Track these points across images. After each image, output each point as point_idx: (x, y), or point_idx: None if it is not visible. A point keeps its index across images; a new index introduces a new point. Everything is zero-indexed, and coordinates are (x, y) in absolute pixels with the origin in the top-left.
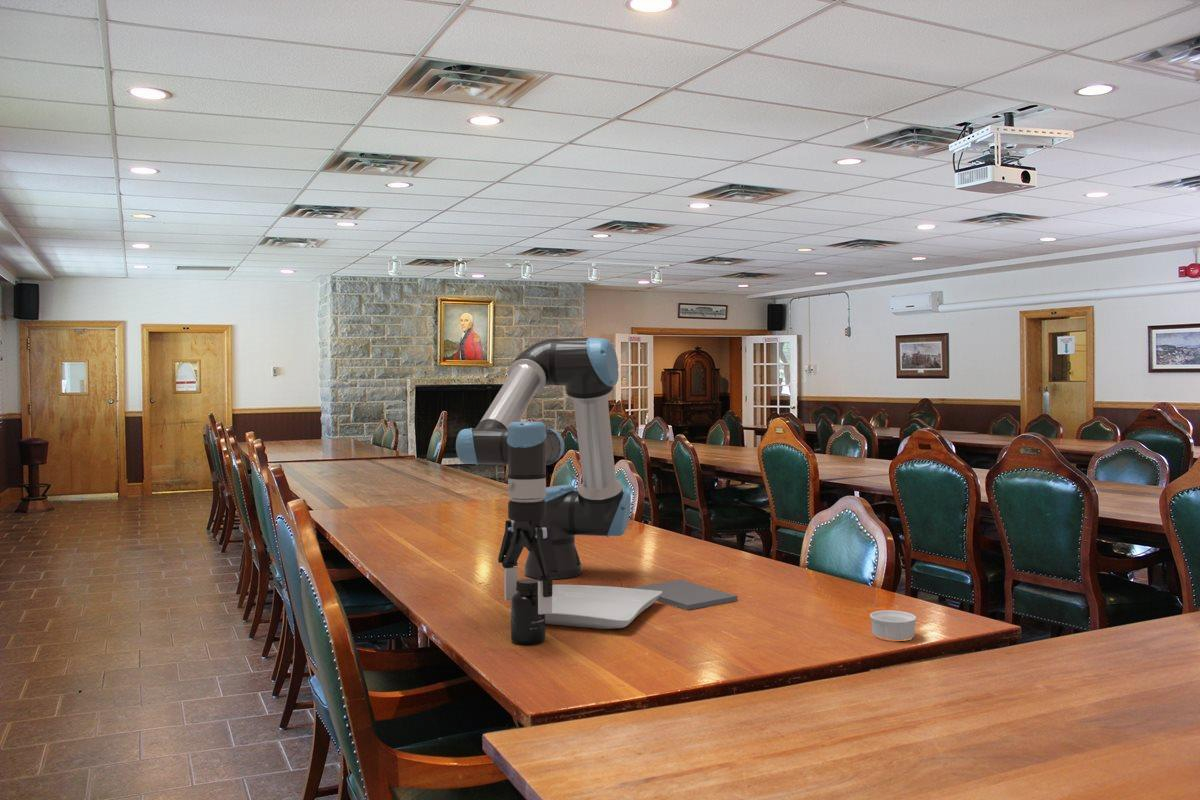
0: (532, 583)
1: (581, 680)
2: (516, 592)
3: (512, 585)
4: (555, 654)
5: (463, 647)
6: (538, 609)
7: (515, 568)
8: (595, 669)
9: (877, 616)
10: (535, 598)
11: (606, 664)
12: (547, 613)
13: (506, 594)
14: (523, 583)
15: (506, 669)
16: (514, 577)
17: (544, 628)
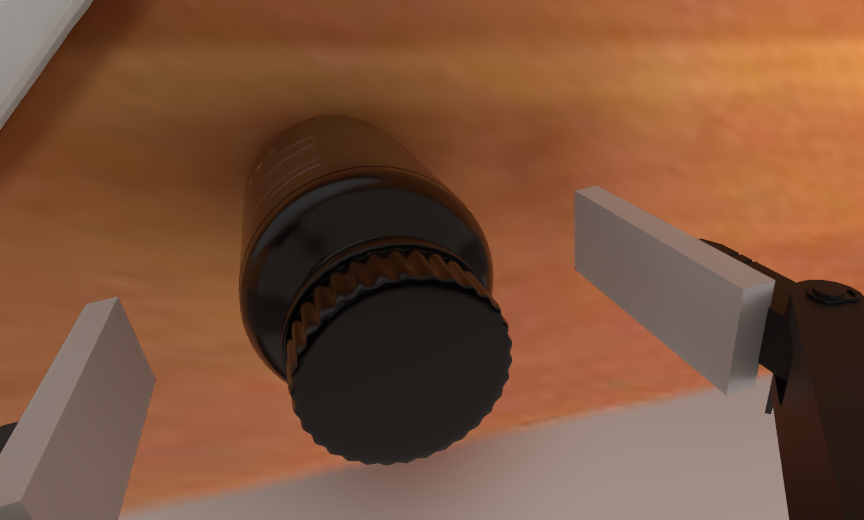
0: (511, 360)
1: (830, 167)
2: (107, 335)
3: (110, 409)
4: (574, 150)
5: (314, 450)
6: (592, 279)
7: (37, 515)
8: (796, 76)
9: None
10: (487, 282)
11: (788, 5)
12: (82, 6)
13: (144, 407)
14: (478, 425)
15: (613, 350)
16: (77, 444)
17: (403, 147)
